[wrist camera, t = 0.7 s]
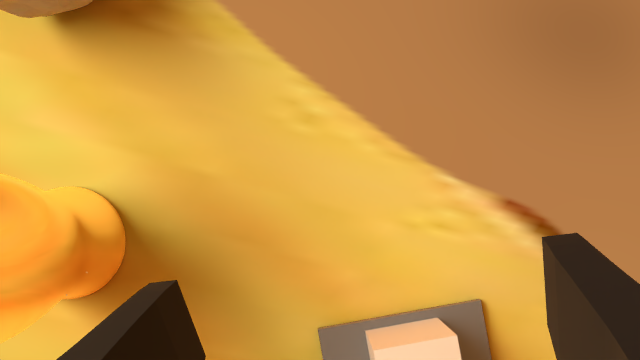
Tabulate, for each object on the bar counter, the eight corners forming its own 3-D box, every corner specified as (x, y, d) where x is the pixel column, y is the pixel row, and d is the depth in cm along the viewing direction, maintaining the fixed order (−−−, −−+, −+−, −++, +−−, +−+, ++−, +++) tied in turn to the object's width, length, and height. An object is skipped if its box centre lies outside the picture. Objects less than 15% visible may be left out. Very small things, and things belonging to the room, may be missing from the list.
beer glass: (-13, 280, 33) (-274, 342, 18) (34, 160, 34) (-187, 126, 19) (107, 324, 33) (-57, 422, 18) (153, 204, 34) (27, 205, 19)
